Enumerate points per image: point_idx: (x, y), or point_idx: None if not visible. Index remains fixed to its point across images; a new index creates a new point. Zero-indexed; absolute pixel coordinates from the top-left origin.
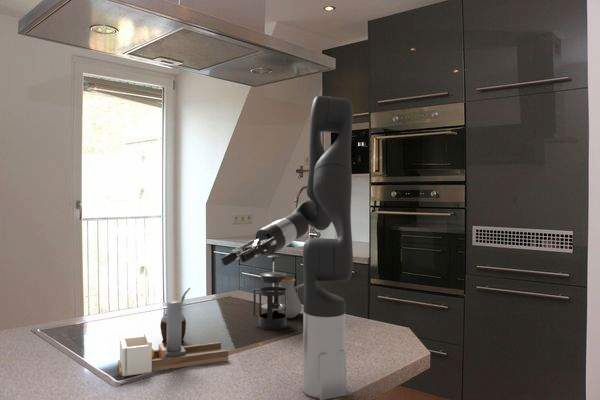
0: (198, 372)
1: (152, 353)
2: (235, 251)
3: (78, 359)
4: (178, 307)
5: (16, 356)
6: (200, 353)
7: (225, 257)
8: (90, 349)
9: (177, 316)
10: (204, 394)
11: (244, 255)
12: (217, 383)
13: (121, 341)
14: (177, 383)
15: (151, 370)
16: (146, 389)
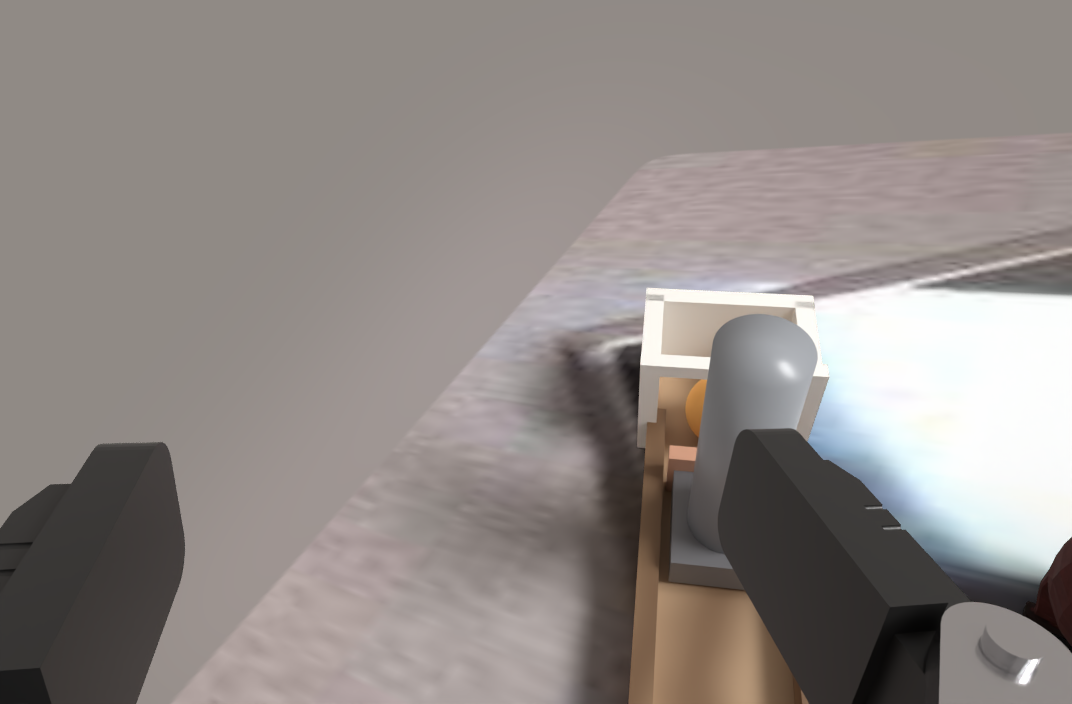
0: (532, 612)
1: (698, 424)
2: (933, 686)
3: (892, 274)
4: (714, 381)
5: (977, 155)
6: (651, 644)
7: (766, 474)
8: (1020, 309)
9: (705, 413)
10: (300, 555)
11: (40, 508)
12: (358, 642)
13: (756, 294)
14: (465, 501)
15: (637, 443)
16: (479, 404)
